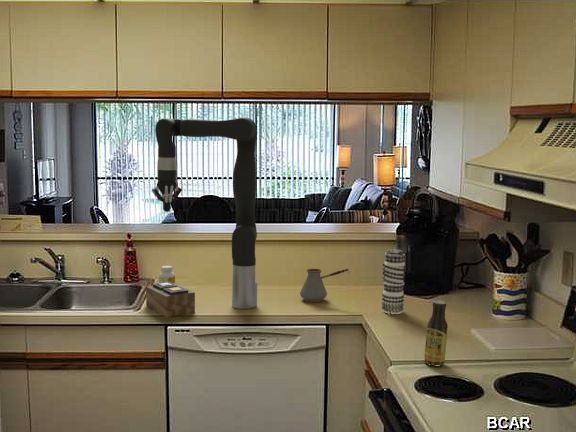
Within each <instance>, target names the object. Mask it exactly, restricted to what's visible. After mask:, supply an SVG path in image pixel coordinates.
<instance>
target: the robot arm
mask: <svg viewBox="0 0 576 432" xmlns="http://www.w3.org/2000/svg"><path fill="white" fill-rule="evenodd" d="M257 135H258V128H257V124H256V122H255V121H254V120H253V119H252V118H250V117H243V116H241V117H238V118H232V119H231V118H230V119H224V120H212V119H211V120H210V119H201V118H186V119H185V118H183V119H180V118H179V119H178V118H165V117H164V118H160V119H159V120H158V121H157V122H156V124H155V137H156V143H157V164H156V165H157V166H156V167H157V169H156V170H157V178H156V179H157V183H156V186H155V187H154V188H152V189H151V192H152V193H153V194H154V196H155V197H156V199H157V200H158V201H159V202H162V210H163V212H167V213H168V212H170V211H171V209H172V202H173V201H177V198H178V197H179V195H180V194H181V192H182V190H183V188H181V187H179V186H178V183H177V158H176V157H177V153H176V152H177V147H176V144H175V143H174V141H173V137H187V138H189V137H190V138H209V137H211V138H213V137H215V138H216V137H219V138H227V139H232V140H236V159H235V163H234V167H233V170H232V171H233V173H232V192H233V193H232V194H233V198H234V203H235V209H236V218H235V219H236V220H235V222H236V223H235V229H234V230H233V232H232V234H231V258H232V273H231V274H232V283H231V284H232V285H231V286H232V288H231V291H232V292H231V294H232V295H231V302H232V303H231V307H233V308H234V309H240V310H241V309H242V310H249V309H252V308H255V307H258V282H256V273H257V272H256V269H257V268H256V266H257V263H256V262H257V258H256V241H257V239H258V232H257V224H256V216H255V215H256V214H255V212H256V209H255V208H256V201H257V171H256V170H257V169H256V166H257V165H256V145H257ZM160 193H161V194H160Z"/></svg>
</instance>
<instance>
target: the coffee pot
mask: <svg viewBox="0 0 576 432" xmlns="http://www.w3.org/2000/svg"><path fill="white" fill-rule="evenodd" d="M306 272H307V276H306V278H305V279H304V280H305V281H304V283H303V285H302V286H301V289H300V291H299V295H300V297H301V298H302V299H303V300H304V301H305V300H306V301H305V302H308V301H309V303H320V301H321V302H323V300H324V299H326V298H327V296H328V291H327V289H326V287H325V284H324V282H323V280H322V279H325V278H328V277H333V276H337V275H339V274H342V273H345V272H347V274H348V275H350V273H351V272H350V270H349V268H345V269H342V270H337V271H335V272H332V273H329V274H327V275H322V276H321V274H322V272H323V271H322V269H320V268H308V269H306Z"/></svg>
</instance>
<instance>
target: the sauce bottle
mask: <svg viewBox="0 0 576 432" xmlns="http://www.w3.org/2000/svg"><path fill="white" fill-rule="evenodd" d="M446 308H447V302H446V301H443V300H433V301H432V313H431V317H430V319H429V320H428V323H427V327H426V334H425V343H424V344H425V345H424V356H423V358H424V360H425V361H424V363H425V362H426V363H427V364H430V365H442V364H443V365H444V363H445V361H446V349H447V340H448V339H447V338H448V328H449V326H448V322H447V320H446ZM426 363H425V364H426ZM427 364H426V365H427ZM430 365H429V366H430ZM443 365H442V366H443Z"/></svg>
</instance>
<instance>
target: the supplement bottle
mask: <svg viewBox="0 0 576 432" xmlns="http://www.w3.org/2000/svg"><path fill="white" fill-rule="evenodd" d="M160 269H161V272H160V273H158V283H165V282H171V283H174V284H176V274H175V272H173V266H172V265H163V266H161V267H160Z"/></svg>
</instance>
